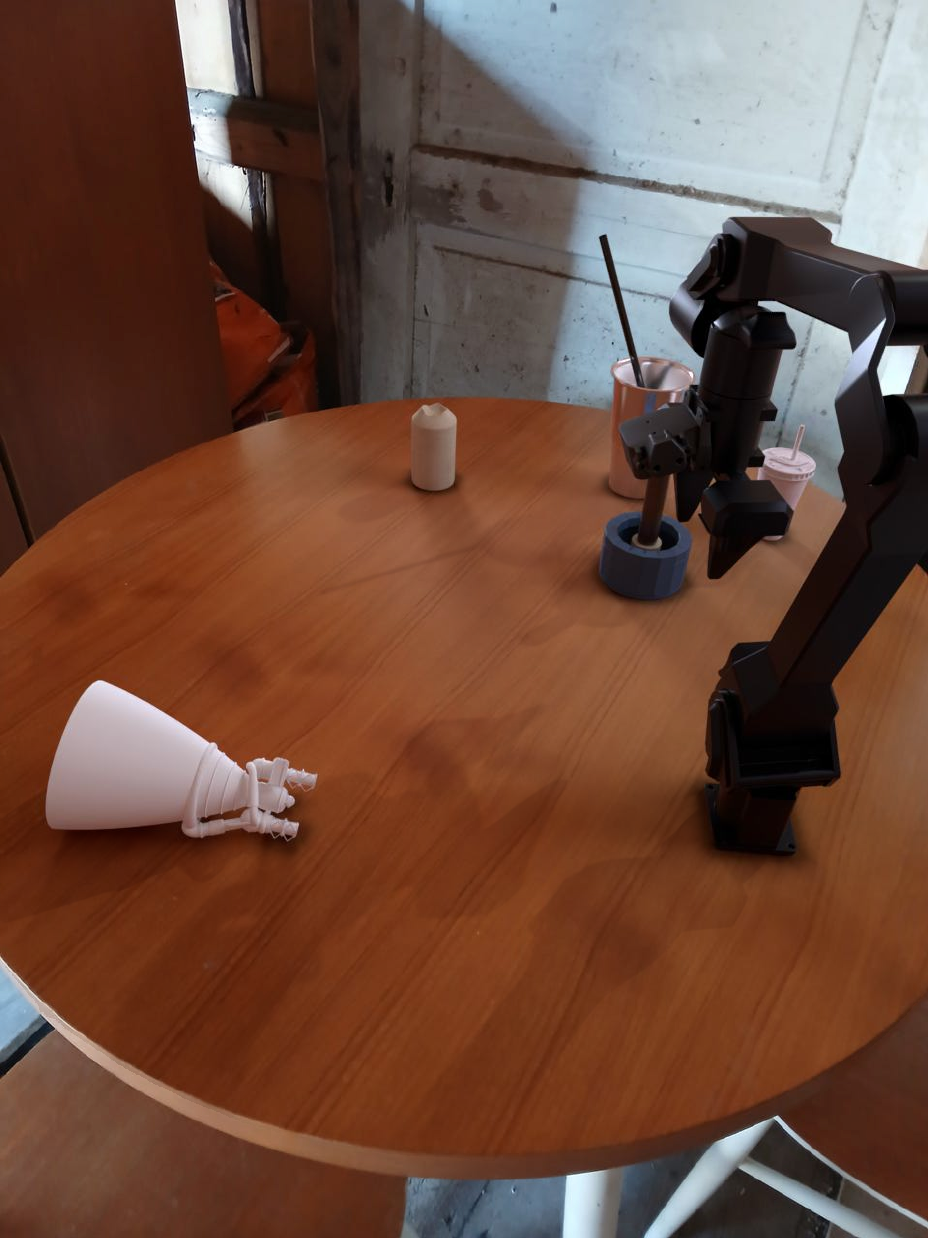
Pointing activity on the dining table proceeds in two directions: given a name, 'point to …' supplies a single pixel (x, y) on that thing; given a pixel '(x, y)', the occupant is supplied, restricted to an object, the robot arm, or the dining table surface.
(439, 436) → the candle
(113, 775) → the rocket engine
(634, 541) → the pestle
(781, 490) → the smoothie
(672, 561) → the jar
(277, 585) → the dining table surface
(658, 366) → the glass
